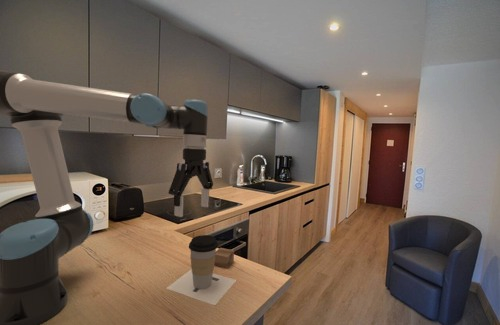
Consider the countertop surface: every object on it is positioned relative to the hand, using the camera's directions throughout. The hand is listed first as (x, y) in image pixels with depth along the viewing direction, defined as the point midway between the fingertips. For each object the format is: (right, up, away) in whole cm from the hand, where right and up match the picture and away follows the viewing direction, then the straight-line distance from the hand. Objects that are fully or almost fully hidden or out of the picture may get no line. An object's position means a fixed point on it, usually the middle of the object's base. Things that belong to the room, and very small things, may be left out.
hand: (192, 211), depth 78 cm
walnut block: (+9, -23, +12) cm, 28 cm away
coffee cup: (+4, -24, -2) cm, 24 cm away
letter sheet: (+4, -24, -2) cm, 24 cm away
